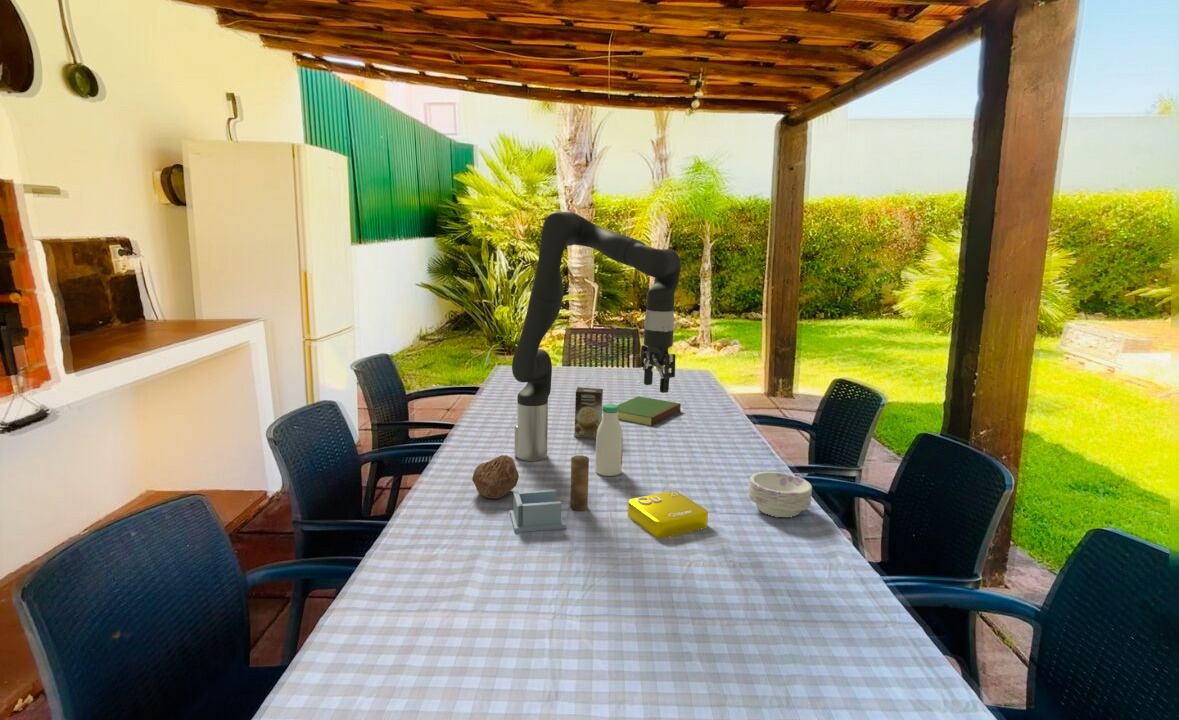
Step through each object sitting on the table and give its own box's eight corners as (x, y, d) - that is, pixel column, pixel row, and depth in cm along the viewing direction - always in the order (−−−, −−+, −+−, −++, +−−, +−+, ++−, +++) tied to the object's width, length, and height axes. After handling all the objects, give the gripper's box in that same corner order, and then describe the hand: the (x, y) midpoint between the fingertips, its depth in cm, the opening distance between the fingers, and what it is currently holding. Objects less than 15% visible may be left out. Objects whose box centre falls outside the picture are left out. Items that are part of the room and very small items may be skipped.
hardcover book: (652, 427, 233) (652, 417, 233) (607, 418, 243) (608, 409, 242) (680, 412, 254) (681, 403, 253) (638, 404, 264) (639, 395, 263)
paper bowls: (809, 503, 168) (812, 475, 167) (809, 528, 154) (812, 497, 152) (750, 495, 173) (752, 467, 171) (744, 517, 159) (746, 487, 157)
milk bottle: (619, 478, 183) (621, 410, 179) (592, 475, 184) (594, 408, 180) (623, 468, 190) (626, 403, 186) (597, 466, 191) (599, 401, 188)
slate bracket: (514, 532, 148) (514, 508, 147) (509, 514, 157) (509, 491, 156) (565, 528, 151) (566, 504, 150) (558, 510, 160) (558, 487, 159)
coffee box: (573, 437, 218) (574, 391, 215) (575, 431, 224) (576, 386, 221) (600, 438, 217) (601, 392, 214) (602, 433, 223) (603, 388, 220)
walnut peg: (567, 508, 161) (568, 459, 159) (575, 502, 165) (576, 454, 163) (582, 512, 160) (583, 462, 157) (590, 506, 163) (591, 457, 161)
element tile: (657, 541, 146) (658, 521, 146) (624, 515, 159) (625, 497, 159) (710, 528, 153) (711, 510, 152) (674, 505, 166) (675, 487, 165)
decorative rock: (503, 481, 178) (503, 446, 176) (529, 493, 171) (529, 457, 169) (463, 493, 169) (463, 457, 167) (488, 507, 161) (488, 469, 160)
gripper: (633, 324, 171) (630, 383, 174) (660, 332, 158) (656, 396, 161) (657, 323, 174) (654, 381, 177) (686, 331, 161) (682, 394, 164)
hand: (655, 388), depth 169 cm, fingers open, 8 cm apart
